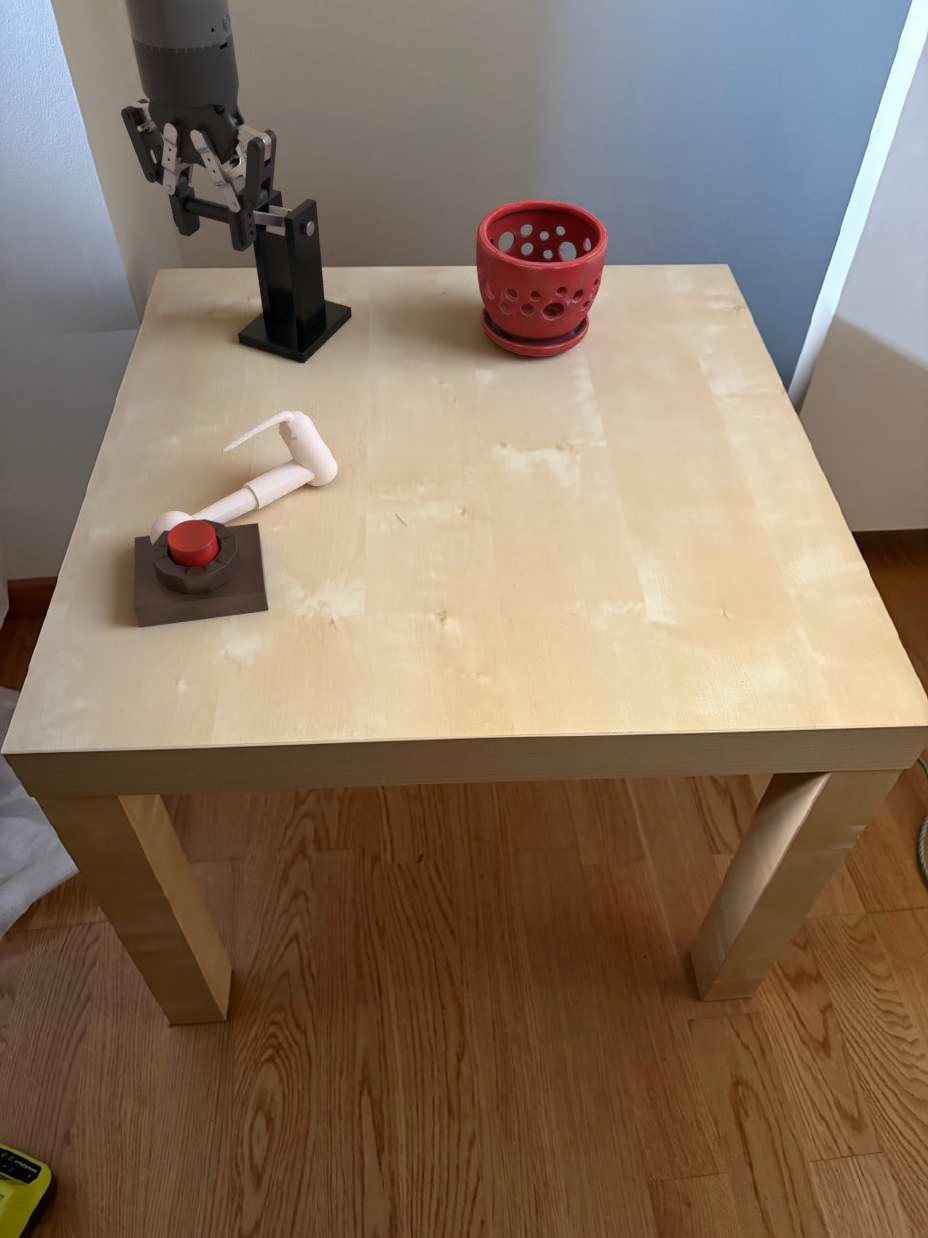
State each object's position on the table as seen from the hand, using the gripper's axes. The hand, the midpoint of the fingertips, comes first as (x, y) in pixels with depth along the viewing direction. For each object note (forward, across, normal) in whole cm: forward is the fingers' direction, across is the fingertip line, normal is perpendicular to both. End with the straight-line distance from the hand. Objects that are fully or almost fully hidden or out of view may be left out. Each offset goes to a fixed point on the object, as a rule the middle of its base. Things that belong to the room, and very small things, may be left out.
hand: (217, 238), depth 86 cm
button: (+11, +13, -25) cm, 30 cm away
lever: (+1, 0, +5) cm, 5 cm away
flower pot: (+15, +23, +22) cm, 35 cm away
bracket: (+15, 0, +11) cm, 18 cm away
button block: (+15, +13, -25) cm, 32 cm away
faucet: (+15, +12, -16) cm, 25 cm away
